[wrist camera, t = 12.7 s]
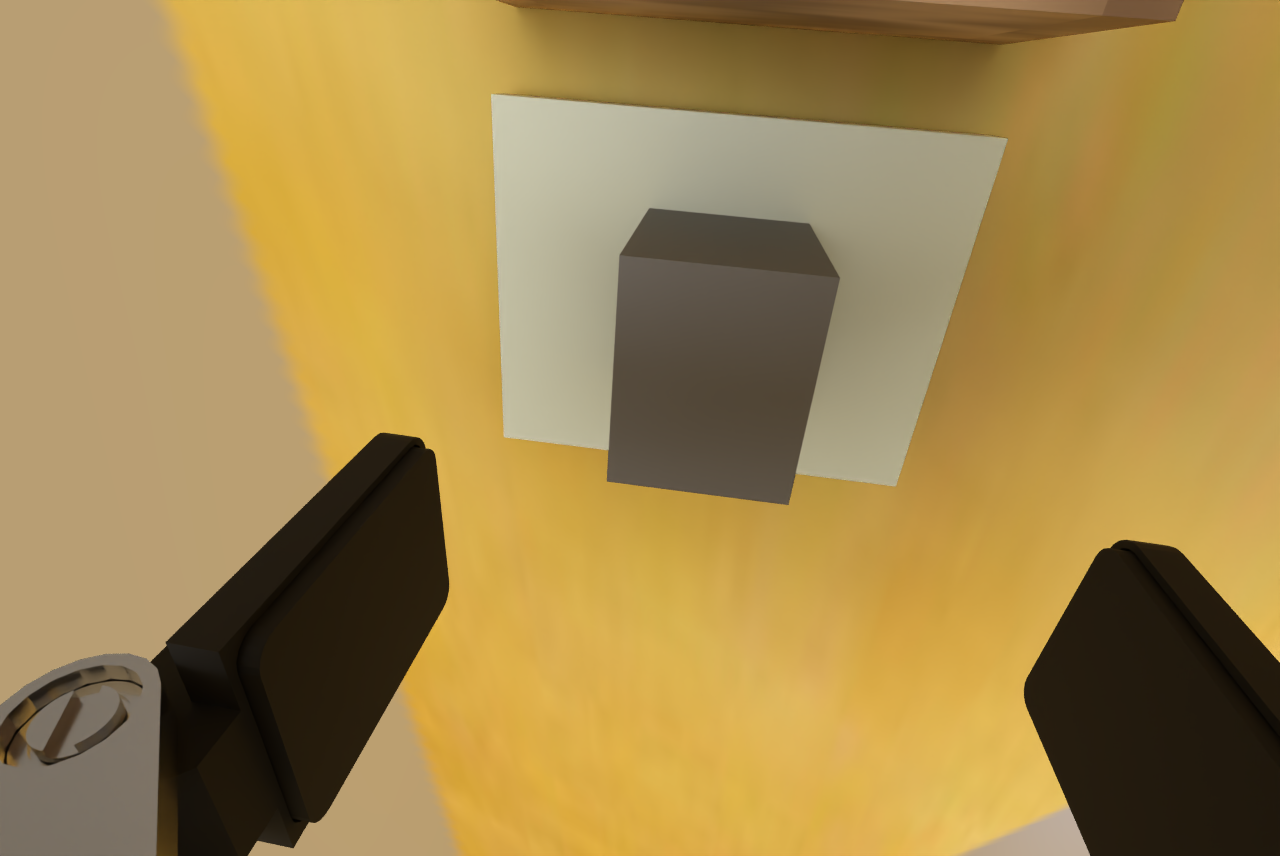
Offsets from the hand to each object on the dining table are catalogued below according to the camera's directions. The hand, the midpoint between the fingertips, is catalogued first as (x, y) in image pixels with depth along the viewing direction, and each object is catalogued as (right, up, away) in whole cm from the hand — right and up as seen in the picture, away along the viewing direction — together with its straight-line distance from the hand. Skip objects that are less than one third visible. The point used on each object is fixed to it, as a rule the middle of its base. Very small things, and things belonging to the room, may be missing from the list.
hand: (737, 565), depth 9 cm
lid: (+1, +6, +12) cm, 14 cm away
